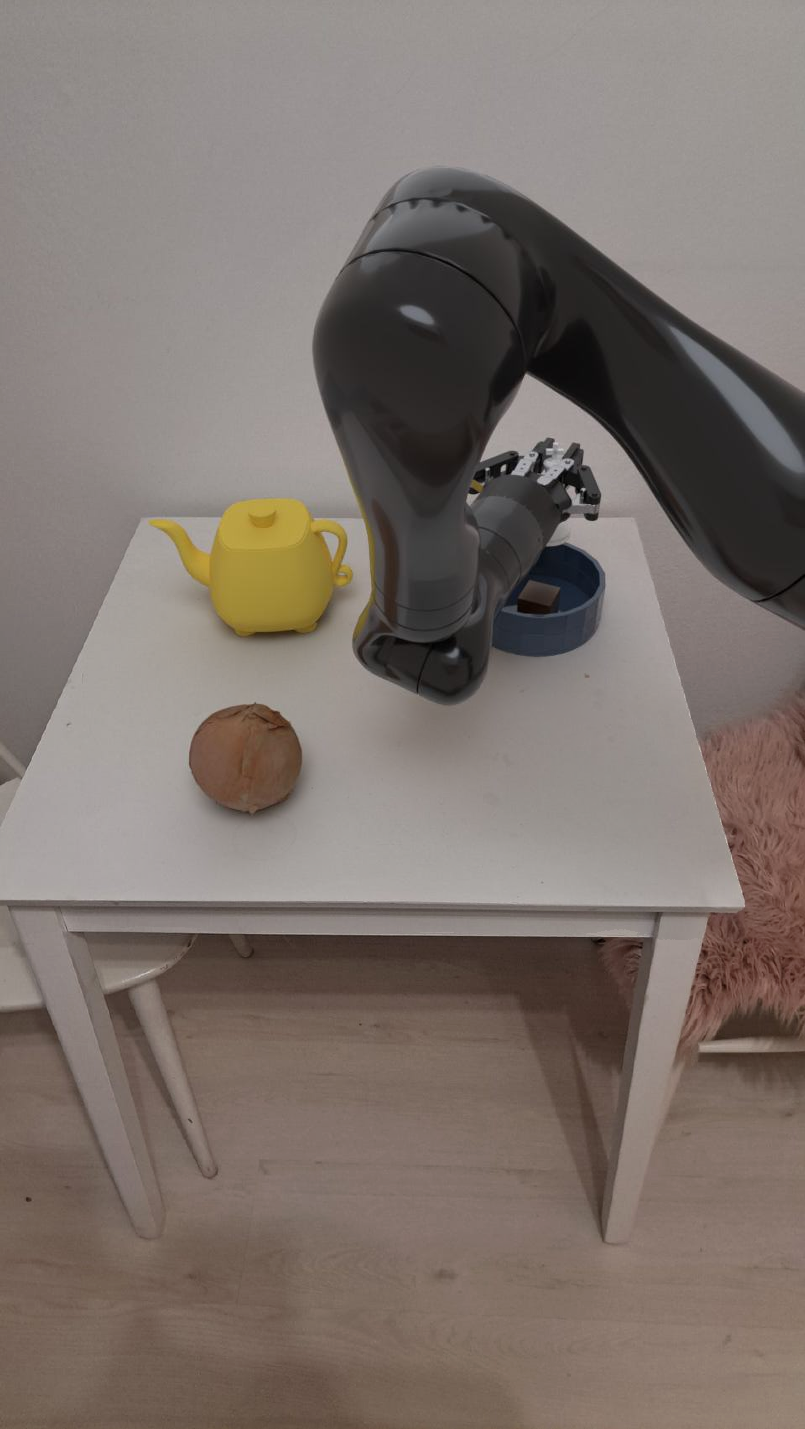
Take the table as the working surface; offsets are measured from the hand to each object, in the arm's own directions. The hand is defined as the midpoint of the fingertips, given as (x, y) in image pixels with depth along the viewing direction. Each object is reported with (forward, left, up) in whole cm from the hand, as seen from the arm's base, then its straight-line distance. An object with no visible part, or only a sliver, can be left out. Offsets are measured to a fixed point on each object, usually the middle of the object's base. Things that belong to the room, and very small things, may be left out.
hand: (562, 449), depth 92 cm
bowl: (0, +6, -16) cm, 17 cm away
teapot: (+27, +17, -17) cm, 36 cm away
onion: (+14, +40, -17) cm, 45 cm away
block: (-1, +7, -16) cm, 17 cm away
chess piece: (0, +3, -8) cm, 9 cm away
